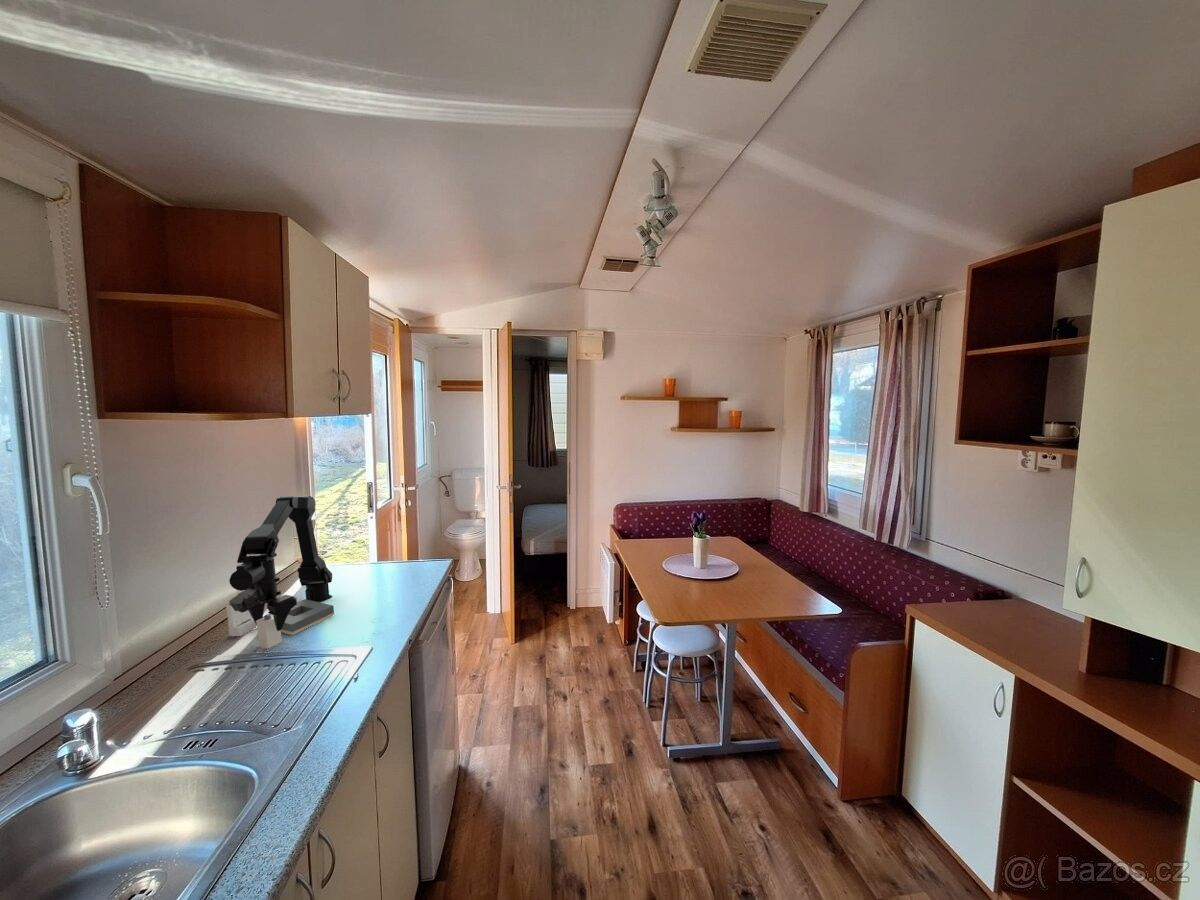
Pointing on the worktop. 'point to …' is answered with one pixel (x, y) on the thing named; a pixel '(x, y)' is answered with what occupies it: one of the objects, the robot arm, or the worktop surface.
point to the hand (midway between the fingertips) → (268, 627)
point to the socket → (306, 616)
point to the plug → (268, 632)
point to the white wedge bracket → (239, 621)
